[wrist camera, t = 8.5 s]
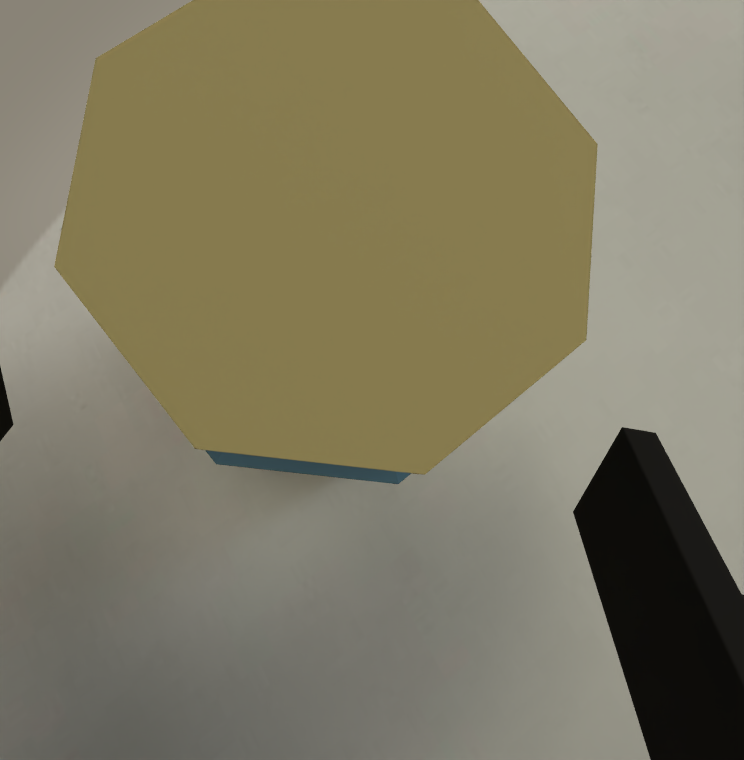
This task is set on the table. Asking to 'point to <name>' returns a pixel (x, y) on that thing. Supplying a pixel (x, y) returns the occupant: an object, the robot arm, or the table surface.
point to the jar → (331, 227)
